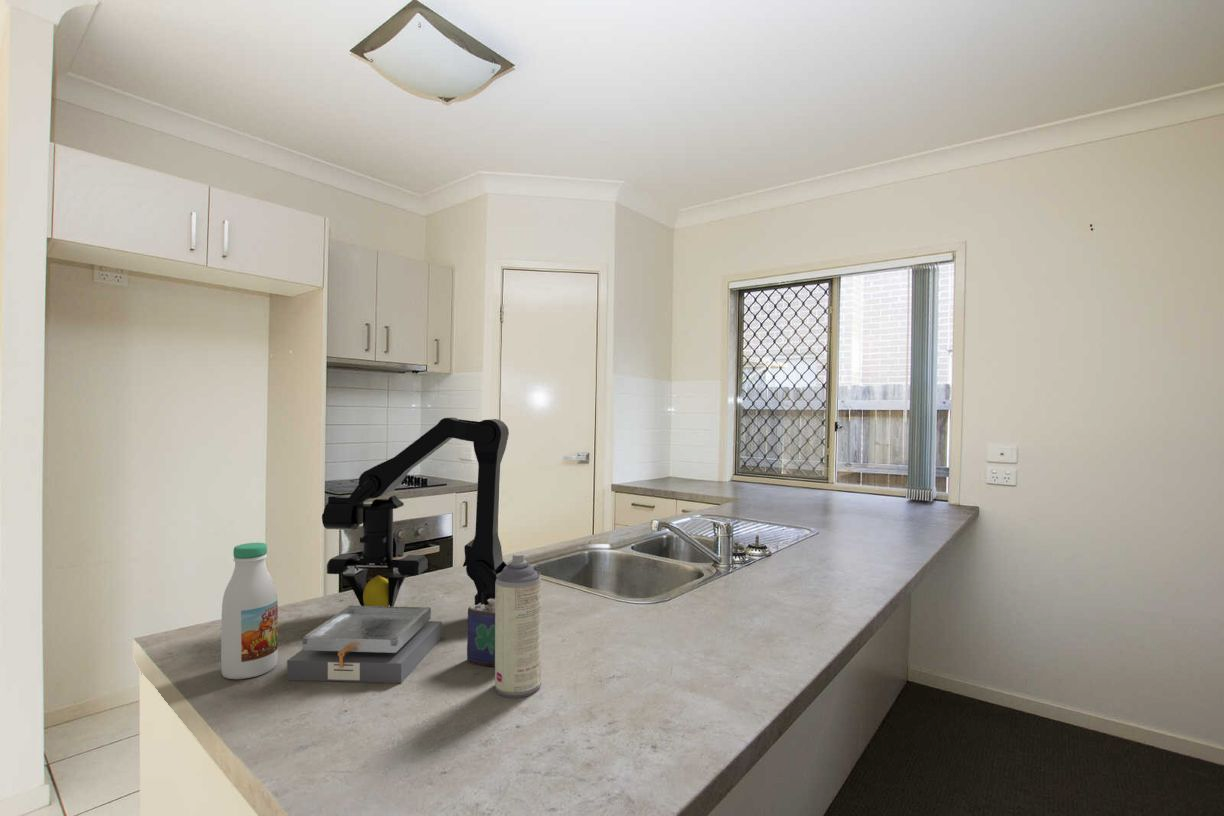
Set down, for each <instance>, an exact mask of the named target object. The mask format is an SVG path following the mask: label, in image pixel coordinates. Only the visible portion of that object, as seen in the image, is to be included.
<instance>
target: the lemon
mask: <svg viewBox="0 0 1224 816" xmlns="http://www.w3.org/2000/svg"><path fill="white" fill-rule="evenodd" d="M363 601H364V605H365V606H387V607H390V605H389V585H388V578H385V577H383V576H381V575H379V574H378V575H375V577H373V578H372V577H371V578H370V579H369V581H367V582H366V586H365V589H364V593H363Z"/></svg>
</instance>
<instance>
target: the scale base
mask: <svg viewBox="0 0 1224 816" xmlns="http://www.w3.org/2000/svg"><path fill="white" fill-rule="evenodd" d="M442 626H443V625H442V620H441V621H440V620H438V621H437V620H429V621H428V622H427V623H426V624H425V625H424V626H423V627H422V628H421V629H420V630H419V631H418V632H416V633H415V634H414V635H413V636H412V637H411V638H410V639H409V640H408V641H407V642H406V643H405V644H404V645H403V646H402V647H401V648H400V649H399V650H398V651H397V652H396V653H386V652H349V653H348V654H347V655H345V656H344V667H343V668H339V656H338V652H340V651H313V650H302V649H301V650H300V651H298V652H297V653H296V654H294V655H292V656H291V657H290V658H288V659H287V660H286V663H287V664H286V665H287V666H286V680H287V681H311V682H315V681H316V682H318V681H319V682H321V681H322V682H323V681H324V682H343V683H344V682H349V683H351V682H352V683H353V682H354V683H378V682H379V684H380V682H381V683H382V682H383V683H382V684H385V683H386V684H403V682H404V681H405V680H406V678H408V676H409V675H410V674H411V673H412V672H413V670H415V669H416V667H417V666H418V665H419V664H420V663H421V662H422V661H423V659H424V658H425V657H426V656H427V655H428V654H429V653H430V651H431V650H433V648H434V647H435V646H436V645H437V644H438V643H439V641H440V640H441V639H442V638H443V637H442V633H443V632H442V629H443V628H442Z"/></svg>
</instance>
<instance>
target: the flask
mask: <svg viewBox="0 0 1224 816" xmlns="http://www.w3.org/2000/svg"><path fill="white" fill-rule="evenodd" d="M487 601H488V602H489V604H488V605H486V606H485V605H484V604H482V605H481V603H479V604H478V605H475V604H473V605H470V606H469V607H468V609H467V640H466V642H467V643H466V659H467V660H466V662H467V663H468V664H471V665H474V666H475V665H476V666H481V667H491V668H495V598H494V599H488V600H487Z"/></svg>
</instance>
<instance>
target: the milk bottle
mask: <svg viewBox="0 0 1224 816" xmlns="http://www.w3.org/2000/svg"><path fill="white" fill-rule="evenodd" d="M232 555H233V562H235V563H234V569H233V572H232V575H231V577H230V580H229V581H228V583H227V585H226V588H225V590H224V593H223V596H222V603H221V627H220V628H221V631H220V633H221V635H220V636H221V639H220V642H221V646H220V647H221V649H220V651H221V653H220V654H221V656H220V657H221V659H220V661H221V662H220V663H221V665H220V666H221V668H220V669H221V671H220V672H221V674H222V676H223V678H225V679H230V680H244V679H250V678H254V677H258V676H261V675H264V674H266V673H269V672H271V671H273V670H274V668H275V667H276V666H277V664H278V657H279V654H278V653H279V652H278V651H279V650H278V649H279V646H278V645H279V641H278V640H279V639H278V638H279V635H278V633H279V631H278V630H279V629H278V628H279V626H278V625H279V614H278V613H279V612H278V611H279V610H278V609H279V608H278V607H279V606H278V605H279V604H278V603H279V602H278V592H277V591H278V590H277V586H276V585H275V584H276V583H275V581H274V580H273V578H272V576H271V574H270V573H269V569H268V567H267V564H266V559H267V557H268V556H267V555H268V545H267V544H266V543H265V542H249V543H248V542H247V543H242V544H239V545H236V546H234V547H233V554H232Z"/></svg>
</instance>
